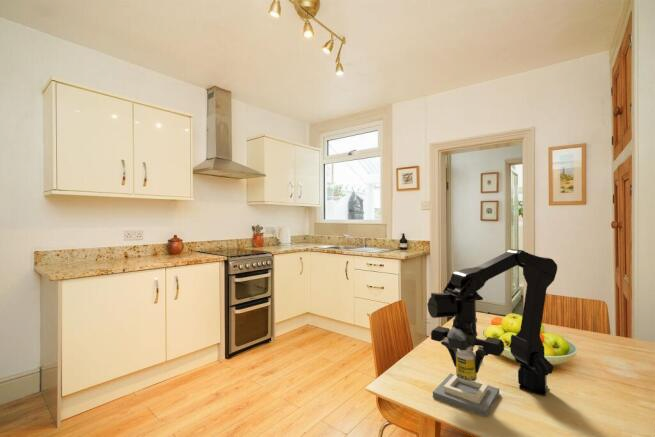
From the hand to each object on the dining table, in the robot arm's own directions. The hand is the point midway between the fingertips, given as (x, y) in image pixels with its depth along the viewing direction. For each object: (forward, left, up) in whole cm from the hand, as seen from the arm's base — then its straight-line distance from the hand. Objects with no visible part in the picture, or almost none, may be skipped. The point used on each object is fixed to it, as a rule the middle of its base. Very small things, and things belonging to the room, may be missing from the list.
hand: (466, 369), depth 89 cm
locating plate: (0, 0, -8) cm, 8 cm away
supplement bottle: (0, 0, -3) cm, 3 cm away
